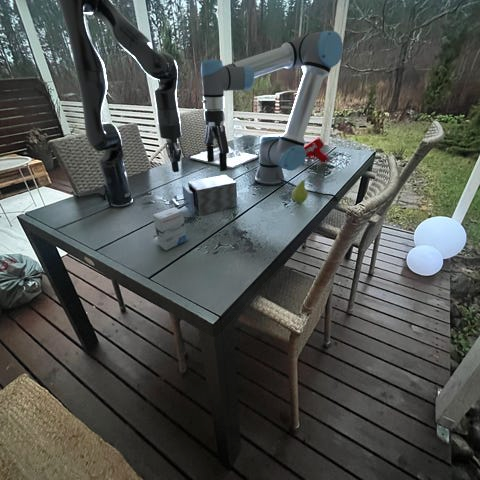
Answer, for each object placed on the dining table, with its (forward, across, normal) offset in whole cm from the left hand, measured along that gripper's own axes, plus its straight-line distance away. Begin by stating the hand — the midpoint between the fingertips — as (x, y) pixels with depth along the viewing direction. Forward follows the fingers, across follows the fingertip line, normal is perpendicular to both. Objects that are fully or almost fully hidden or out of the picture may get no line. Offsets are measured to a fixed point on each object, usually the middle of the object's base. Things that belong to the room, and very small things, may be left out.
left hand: (175, 171), depth 103 cm
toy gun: (+18, -29, +94) cm, 100 cm away
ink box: (+18, +20, -10) cm, 29 cm away
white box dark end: (+18, 0, +15) cm, 23 cm away
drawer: (+17, 0, +8) cm, 19 cm away
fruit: (+18, +15, +50) cm, 55 cm away
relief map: (+18, -63, +50) cm, 83 cm away
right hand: (+1, -2, +18) cm, 18 cm away
